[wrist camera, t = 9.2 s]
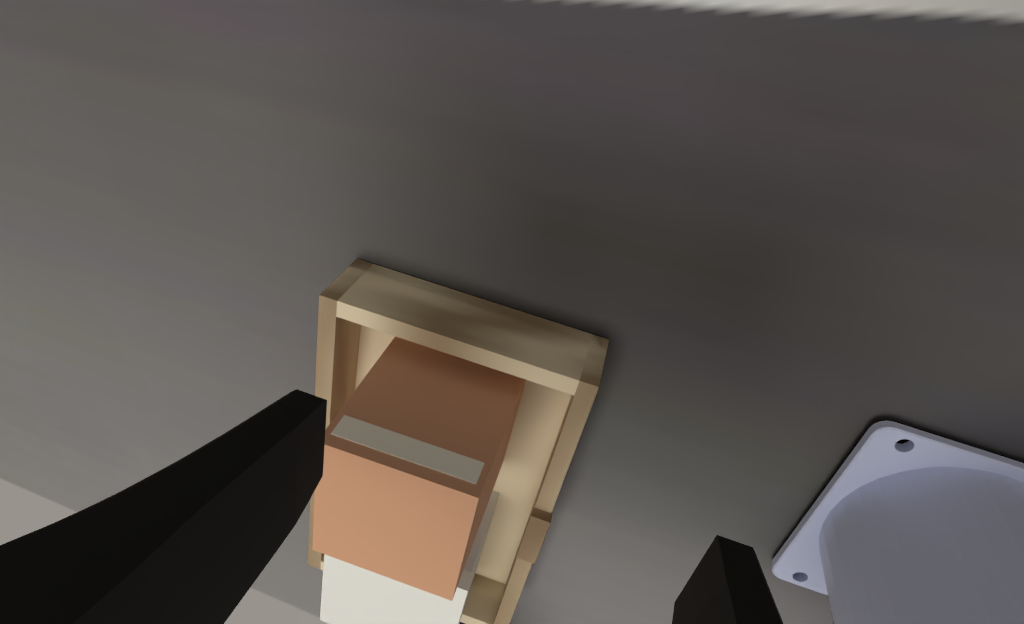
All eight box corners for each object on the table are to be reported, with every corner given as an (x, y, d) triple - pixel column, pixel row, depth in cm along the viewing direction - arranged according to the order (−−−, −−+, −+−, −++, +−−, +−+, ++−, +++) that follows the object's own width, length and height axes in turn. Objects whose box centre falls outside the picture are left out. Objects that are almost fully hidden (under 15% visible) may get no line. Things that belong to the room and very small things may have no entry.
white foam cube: (502, 492, 25) (467, 591, 21) (479, 568, 28) (445, 668, 24) (380, 448, 25) (325, 538, 22) (369, 528, 28) (320, 620, 24)
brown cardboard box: (503, 462, 24) (451, 601, 19) (390, 423, 24) (312, 549, 19) (529, 365, 21) (478, 497, 16) (403, 324, 22) (316, 441, 17)
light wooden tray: (610, 340, 21) (598, 396, 18) (519, 585, 29) (502, 647, 26) (355, 258, 22) (311, 301, 19) (335, 517, 29) (301, 571, 27)
